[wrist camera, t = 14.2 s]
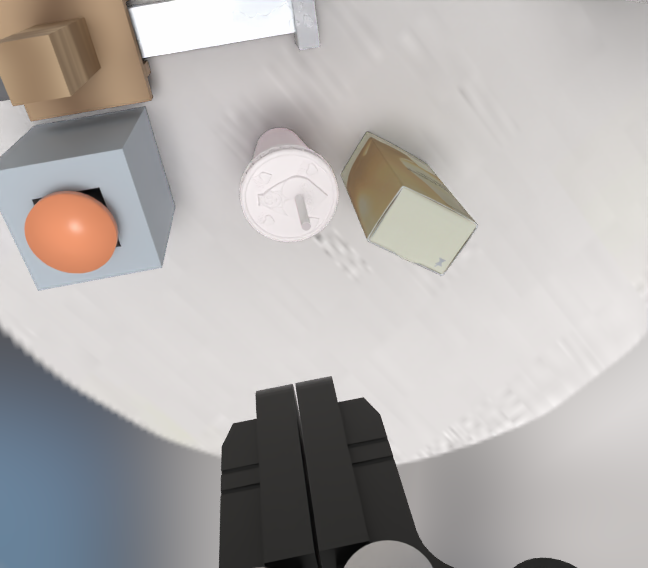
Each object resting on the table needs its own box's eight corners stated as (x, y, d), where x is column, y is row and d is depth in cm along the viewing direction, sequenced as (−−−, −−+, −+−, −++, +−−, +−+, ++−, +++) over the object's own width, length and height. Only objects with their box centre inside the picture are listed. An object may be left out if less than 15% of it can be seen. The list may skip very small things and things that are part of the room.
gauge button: (119, 151, 38) (99, 188, 32) (142, 219, 40) (127, 265, 34) (44, 164, 37) (9, 204, 32) (71, 231, 40) (44, 280, 34)
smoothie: (321, 187, 46) (351, 271, 34) (242, 192, 45) (245, 280, 34) (319, 107, 43) (352, 169, 31) (233, 111, 42) (233, 177, 30)
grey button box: (145, 106, 41) (122, 148, 33) (175, 207, 45) (162, 267, 37) (34, 125, 41) (-19, 173, 32) (75, 225, 45) (38, 290, 36)
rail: (303, -40, 38) (309, -39, 35) (314, 40, 40) (320, 46, 38) (-27, 14, 37) (-46, 19, 34) (6, 92, 39) (-9, 102, 37)
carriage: (119, -37, 36) (80, -31, 27) (156, 91, 40) (133, 134, 31) (-7, -17, 36) (-91, -3, 26) (43, 110, 40) (-15, 160, 31)
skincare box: (429, 163, 46) (485, 226, 36) (400, 207, 48) (446, 280, 38) (363, 127, 44) (403, 183, 34) (335, 175, 46) (365, 242, 35)
